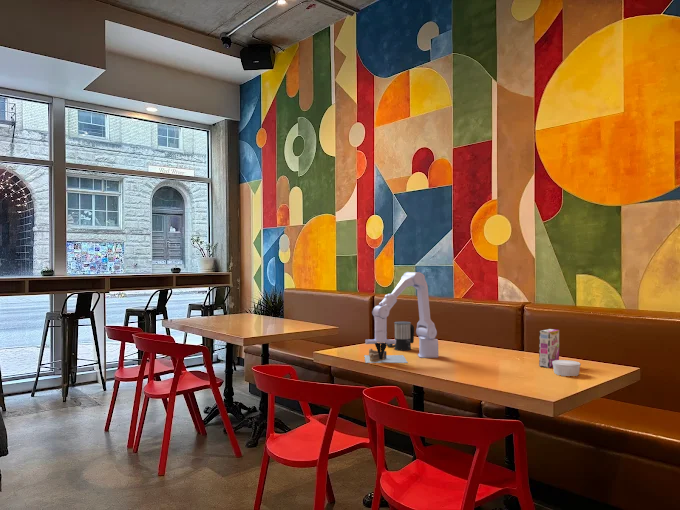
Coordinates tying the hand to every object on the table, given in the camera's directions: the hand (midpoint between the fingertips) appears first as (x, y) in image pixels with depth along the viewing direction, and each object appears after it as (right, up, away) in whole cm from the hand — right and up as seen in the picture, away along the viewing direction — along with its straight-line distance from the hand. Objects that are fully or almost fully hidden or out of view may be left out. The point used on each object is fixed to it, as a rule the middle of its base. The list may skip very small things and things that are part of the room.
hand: (380, 359), depth 248 cm
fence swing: (-2, -1, +4) cm, 4 cm away
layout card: (+3, -1, +7) cm, 8 cm away
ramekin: (+77, -1, -28) cm, 82 cm away
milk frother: (+13, -2, +38) cm, 40 cm away
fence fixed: (-1, -2, +11) cm, 11 cm away
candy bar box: (+77, -1, -10) cm, 78 cm away
